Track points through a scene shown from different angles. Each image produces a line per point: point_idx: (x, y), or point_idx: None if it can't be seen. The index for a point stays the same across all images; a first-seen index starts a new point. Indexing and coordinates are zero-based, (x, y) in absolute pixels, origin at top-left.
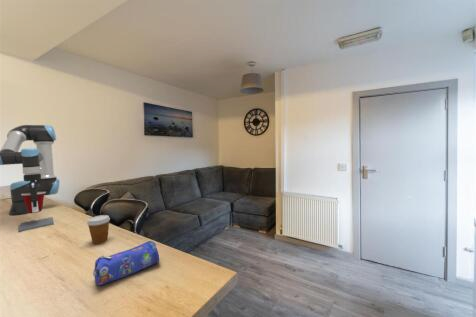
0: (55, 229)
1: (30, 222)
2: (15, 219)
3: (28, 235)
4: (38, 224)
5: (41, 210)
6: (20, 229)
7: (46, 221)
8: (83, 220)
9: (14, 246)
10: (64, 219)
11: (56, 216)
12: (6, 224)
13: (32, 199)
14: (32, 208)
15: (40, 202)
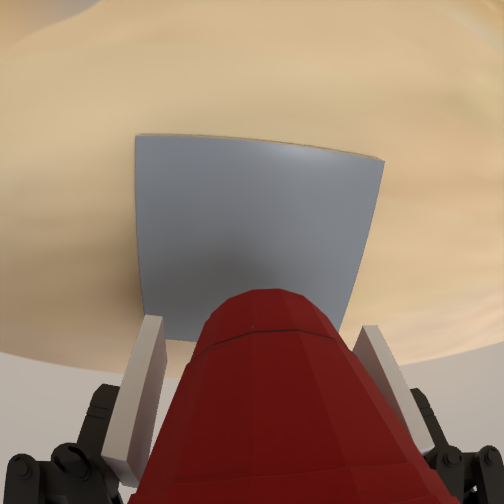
0: (484, 183)
1: (189, 292)
2: (7, 324)
3: (443, 296)
4: (322, 255)
5: (288, 293)
6: None
7: (282, 197)
8: (454, 3)
9: (497, 326)
10: (288, 56)
11: (91, 104)
12: (81, 363)
13: (468, 488)
14: None
15: (385, 400)
